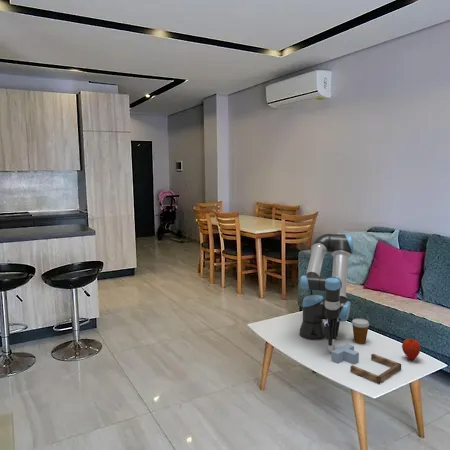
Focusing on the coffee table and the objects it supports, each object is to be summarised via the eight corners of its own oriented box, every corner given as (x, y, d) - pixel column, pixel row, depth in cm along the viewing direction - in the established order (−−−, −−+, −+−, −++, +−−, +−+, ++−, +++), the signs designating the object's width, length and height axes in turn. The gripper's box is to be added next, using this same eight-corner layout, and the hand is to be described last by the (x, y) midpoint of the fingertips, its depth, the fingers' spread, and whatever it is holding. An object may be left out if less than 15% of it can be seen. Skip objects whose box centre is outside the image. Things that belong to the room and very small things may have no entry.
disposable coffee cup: (347, 339, 229) (348, 319, 227) (360, 336, 232) (361, 317, 231) (359, 346, 220) (359, 325, 218) (372, 343, 224) (373, 322, 222)
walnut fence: (350, 371, 193) (350, 366, 192) (372, 359, 205) (372, 353, 205) (379, 384, 181) (379, 378, 181) (401, 369, 194) (401, 363, 193)
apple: (397, 357, 206) (398, 337, 205) (409, 354, 210) (410, 334, 208) (411, 364, 198) (412, 344, 197) (423, 361, 202) (424, 340, 200)
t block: (331, 360, 204) (331, 351, 204) (347, 352, 213) (347, 343, 213) (348, 367, 197) (348, 357, 196) (364, 358, 206) (364, 349, 205)
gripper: (330, 312, 202) (329, 356, 205) (345, 306, 210) (344, 349, 213) (318, 308, 208) (318, 351, 211) (333, 303, 216) (332, 344, 219)
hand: (331, 350), depth 212 cm, fingers closed
